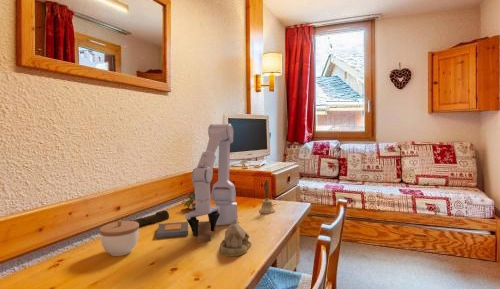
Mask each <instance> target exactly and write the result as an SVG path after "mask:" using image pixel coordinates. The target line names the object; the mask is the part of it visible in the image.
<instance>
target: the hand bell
mask: <svg viewBox="0 0 500 289" xmlns="http://www.w3.org/2000/svg"><path fill="white" fill-rule="evenodd" d="M263 190H264V192H265V193H264V194H265V195H264V196H265V198H264V200H262V203H261V204H262V205H261V207H260V209H259V210H258V213H260V214H264V215H265V214H274V213H275V212H276V209H275V208H274V207H273V204H272V200H271V199H270V197H269V190H270V183H269V180H268V179H264V184H263Z"/></svg>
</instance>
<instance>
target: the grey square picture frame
mask: <svg viewBox="0 0 500 289" xmlns="http://www.w3.org/2000/svg"><path fill="white" fill-rule="evenodd" d="M155 234H156V240H158V239H166V238H168V239H169V238H176V237H178V238H179V237H188V236H189V223H188V221H179V222H168V223H167V222H166V223H159V224H158V228H157V230H156V233H155Z"/></svg>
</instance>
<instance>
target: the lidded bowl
mask: <svg viewBox="0 0 500 289" xmlns="http://www.w3.org/2000/svg"><path fill="white" fill-rule="evenodd" d="M139 232H140V226H139V223H138V222H135V221H129V220H120V219H119V220H117V221H114V222H110V223H107V224H105V225H103V226H101V227H100V228H99V235H100V236H99V237H100V238H99V239H100V243H101V246H102V248H103V250H104V251H105V252H107V253H108V254H109V255H110V256H112V257H121V256H125V255H127V254H130V253H131V252H132V251H133V249H134V248H136V246H137V244H138V241H139V236H140V234H139Z"/></svg>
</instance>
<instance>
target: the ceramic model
mask: <svg viewBox="0 0 500 289" xmlns="http://www.w3.org/2000/svg"><path fill="white" fill-rule="evenodd" d="M249 238H250V233H248V232H247V231H245V230H244V228H243V227H242V226H241V225H240V224H239V222H238V223H237V220H233V222H232V223H231V224H229V226H228V227H227V229H225V231H224V239H223V240H221V243H220V245H219V247H220V252H221V254H222V255H223V256H225V257H237V256H241V255H243V254H246V253H247V252H248V249H249V248H250V247H251V246H252V242H251V241H249Z"/></svg>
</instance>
